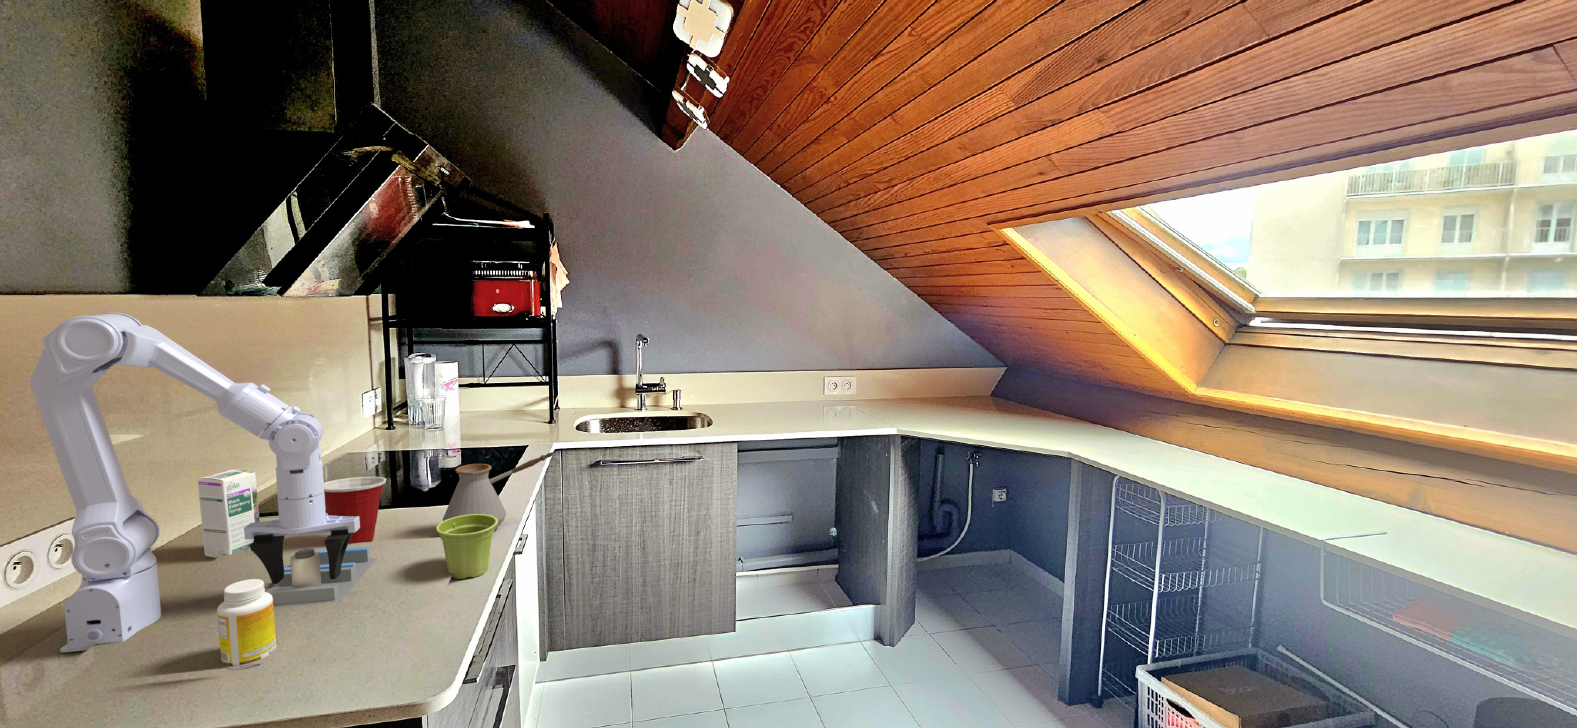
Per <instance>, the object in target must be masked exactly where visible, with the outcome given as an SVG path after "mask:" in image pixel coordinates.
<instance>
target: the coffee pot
mask: <svg viewBox="0 0 1577 728" xmlns="http://www.w3.org/2000/svg"><path fill="white" fill-rule="evenodd" d="M551 457H553V459H554V461H555V462H557V458H556V455H555V452H554V451H552V452H551V451H550V452H548V453H546V454H542V455H540V457H537V458H534V459H530V460H528V461H526V462H524V463H522V464H520V465H518V466H516V467H515V468H512V469H511V470H509V471H506V472H504V473H501V474H498V475H497V476H495V477H492V478H489V474H490V471H491V470H492V466H491V465H490V464H487V463H472V464H470V463H469V464H465V465H461V466H459V467H457V468H455V473H457V474H458V477H459V480H458V483H457V485H456V487H455V489H454V492H453V494H452V496H451V499H450V502H449V503H448V506H447V509H446V510H445V513H444V515H443V518H442V522H443V521H445V520H447V519H450V518H453V517H457V516H462V515H469V514H486V515H491V516H493V517H495V518H497V520H498V523H497V525H496V526H495V529H494V531H496V529H497V528H498V527H500V526H501V524H502V523H503V522H504V520H505V518H506V516H507V511H506V509H505V507H504V505H503V503H502V502H501V500H500V496H499V495H498V494H497V492H496V490H495V488H494V486H493V484H494V483H496V482H498V481H501V480H502V479H504V478H506V477H508V476H511V475H512V474H516V473H518V472H521V471H524V470H526V469H529V468H530V467H531V468H532V467H534V466H535V465H537V464H539V463H540V462H541V461H543V462H544V461H546V459H548V458H551Z"/></svg>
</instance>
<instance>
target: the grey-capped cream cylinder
mask: <svg viewBox="0 0 1577 728" xmlns="http://www.w3.org/2000/svg"><path fill="white" fill-rule="evenodd" d="M314 550H315V549H314V548H305V549H301V550H298V551H296V552H294V554H293V555H292V556H291V557H290V567H291V575H292V588H298V587H310V586H321V571H320V554H319V552H318V551H314Z"/></svg>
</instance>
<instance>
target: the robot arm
mask: <svg viewBox="0 0 1577 728" xmlns="http://www.w3.org/2000/svg"><path fill="white" fill-rule="evenodd" d="M42 342H43V349H42V351H41V353H40V356H39V358H38V360H37V363H36V365H35V367H34V370H33V372H32V375H31V376H30V380H29V384H30V389H31V392H32V395H33V397H34V400H35V402H36V405H37V409H38V411H39V412H40V416H41V418H42V421H43V425H44V426H45V429H46V432H47V435H48V437H49V440H50V443H51V445H52V449H53V451H54V454H55V457H56V459H57V463H58V464H59V467H60V471H61V472H62V475H63V478H64V481H65V483H66V486H67V489H68V491H69V494H70V497H71V499H72V502H73V505H74V507H75V510H76V512H75V516H74V521H73V525H72V529H71V535H72V537H73V540H74V546H73V550H72V552H71V557H70V558H71V561H70V562H71V564H72V566H73V568H74V569H75V571H77V572H78V573H79V574H81V583H80V585H79V586H78V588H77V589H76V590H75V592H73V593H72V594H71V595H69V597H68V599H67V600H66V602H65V604H64V610H63V611H64V619H65V620H64V621H65V628H66V637H67V638H66V639H67V643H66V645H64V646H63V647H61V648H60V649H59V652H60V653H71V652H82V651H89V650H90V649H91V648H93V647H94V646H96V645H101V644H113V643H122V642H125V641H127V640H128V639H129V638H131V637H132V636H133V635H135V634H136V633H138V632H139V631H141V630H143V629H144V628H146V627H148V626H150V625H151V624H154V623H155V622H157V621H158V620H159V619H160V618H161V616H162V610H161V599H160V587H159V585H160V584H159V576H158V575H159V574H158V564H157V563H158V562H157V556H156V555H154V553H153V552H152V550H151V549H152V548H151V547H152V546H153V545H154V544H156V542H157V541H158V539H159V536H160V531H161V530H160V526H159V524H158V522H157V520H155V519H154V518H153V517H152V516H151V515H150V514H148V513H147V512H146V511H145V509H144V506H143V504H142V502H141V501H140V500H139V499H137V498H136V497H135V496H133V495H132V494H131V493H130V490H129V487H128V484H127V481H126V479H125V476H124V474H123V470H122V467H121V465H120V461H119V459H118V455H117V454H116V449H115V447H114V445H113V441H112V438H111V436H110V433H109V430H108V428H107V425H106V421H105V419H104V417H103V413H102V410H101V408H100V405H99V402H98V399H97V397H96V393H95V390H94V385H95V384H96V383H97V382H98V381H99V380H100V379H101V378H103V376H104V375H105V374H106V373H107V372H108V371H109V370H110V369H111V367H113V366H114V365H116V364H118V366H123V367H125V366H128V367H139V368H140V367H144V368H153V369H156V370H158V371H160V372H162V373H164V374H166V375H168V376H169V377H172V378H173V379H175V380H177V381H179V382H180V383H183V384H184V385H186V386H188V387H190V388H192V389H193V390H195V391H197V392H199V393H201V394H203V395H204V396H205V397H208V398H210V399H212V400H213V401H215V404H216V406H217V412H218V415H220V416H222V417H223V418H225V419H227V420H228V421H230V422H232V423H234V424H235V425H238V426H239V427H240V428H242V429H244V430H246V431H247V432H248V433H251V434H252V435H254V436H256V437H257V438H259V439H260V440H266V441H268V446H269V449H270V450H271V452H273V453H274V454H275V457H276V467H275V476H276V477H275V480H276V491H277V492H276V493H277V507H278V508H277V510H278V519H273V520H267V521H259V522H256V523H250V524H249V525H247V526H246V527H244V535H245V540H248V539H254V540H253V543H252V544H251V545H250V549H251V550H250V551H251V552H253V554H255V556H256V557H258V559H259V560H260V561H261V563H262V564H263V566H264V568H265V570H266V571H267V572H266V573H268V576H269V578H270V581H271V584H272V585H275V584H278V583H279V582H280V581H281V580H282V579H283V578H284V568H285V566H284V557H283V556H284V542H285V541H284V540H285V536H299V535H311V534H328V533H330V534H329V535H328V536H327V537H326V538H324V539H323V543H324V544H325V550H327V553H328V558H329V575H330V579H336V578H337V577H338V576H339V575H340V572H341V565H342V561H343V557H344V554H345V551H346V548H348V546H349V544H348V543H349V541H350V539H351V537H352V535H353V533H354V532H356V531H357V530H358V529H359V528H360V520H359V516H356V517H346V516H329V515H328V514H326V513H327V510H326V506H325V494H324V483H325V480H324V463H323V461H322V451H321V445H320V441H321V440H322V436H323V426H322V424H321V422H320V421H319V420H318V419H317V418H316V417H315V415H314V414H313V413H309V412H305V411H304V412H303V411H302V409H301V408H299V407H298V406H296V405H294V406H293V407H292V406H291V405H288V404H286V402H284V401H282V400H281V399H279V398H277V397H276V396H274V395H272V394H271V393H269V392H270V391H272V390H271V388H270V387H269V386H267V385H266V384H264V383H263V384H260V385H259V386H258V385H257V384H256V383H253V382H234V381H233V380H232V379H229V377H227V376H225V375H224V374H223V373H221V372H219V371H218V370H217V369H215V368H214V367H213V366H210V365H209V364H207V362H205V361H203V360H202V359H200V358H198V357H197V356H196V355H194V354H193V353H191V352H190V351H188V350H187V349H185V347H182V346H181V345H180V344H178V343H176V342H175V341H174V340H172V339H170V338H169V337H167V336H166V335H165V334H163V333H162V332H161V331H159V330H158V329H156V328H154V327H151V326H150V325H147V324H144V325H143V324H142V323H141V322H140V321H139V319H137V318H135V317H133V316H131V315H129V314H126V313H122V312H117V311H116V312H114V311H113V312H112V311H111V312H105V313H104V312H103V313H99V314H96V315H94V314H93V315H79V316H73V317H70V318H68V319H65V320H64V321H62V322H61V323H60V324H59V325H58V326H56V327H55V328H54V329H52V330H51V331H50V332H49V333H47V334H46V335H45V336H44V337H43V338H42Z"/></svg>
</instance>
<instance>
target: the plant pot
mask: <svg viewBox="0 0 1577 728" xmlns="http://www.w3.org/2000/svg"><path fill="white" fill-rule="evenodd" d="M497 523H498V520H497V518H495V517H493V516H491V515H486V514H469V515H462V516H457V517H453V518H450V519H447V520H445V521H443V520H442V521H441V522H440V523H438V524H437V525H436V532H437V533H438V534H439V538H440V539H441V541H442V545H443V550H444V556H445V561H446V568H447V571H448V572H449V573H450V574H452V575H451V578H453V579H457V580H465V579H466V578H477V577H480V576H481V575H483V574H485V573H486V572H487V571H488V570H489V564H490V557H491V556H490V555H491V549H492V548H491V547H492V541H493V534H494V532H495V530H494V529H495V526H496V525H497Z"/></svg>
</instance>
